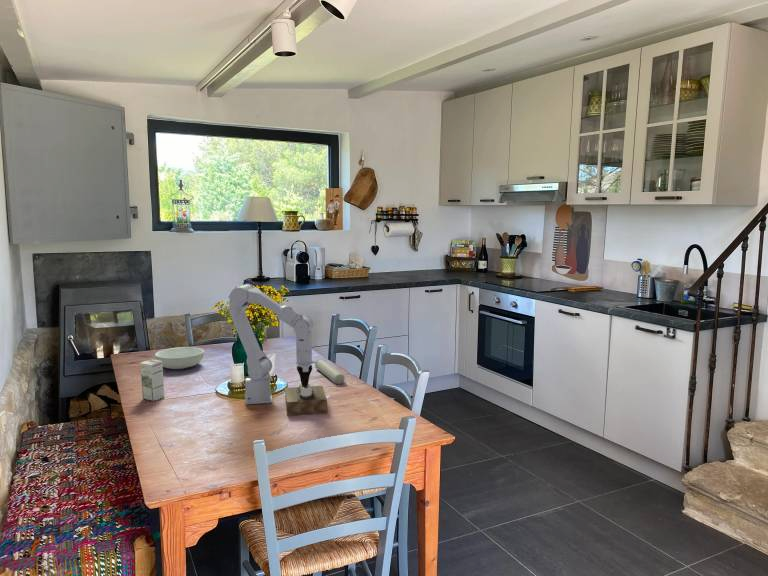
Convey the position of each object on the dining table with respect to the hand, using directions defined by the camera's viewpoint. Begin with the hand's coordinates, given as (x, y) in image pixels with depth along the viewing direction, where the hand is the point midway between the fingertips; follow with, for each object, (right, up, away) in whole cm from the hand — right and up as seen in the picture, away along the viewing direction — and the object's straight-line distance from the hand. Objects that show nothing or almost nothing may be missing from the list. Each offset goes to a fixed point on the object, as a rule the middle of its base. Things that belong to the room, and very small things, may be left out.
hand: (304, 385), depth 215 cm
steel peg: (+2, -4, -7) cm, 9 cm away
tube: (+6, -2, +34) cm, 34 cm away
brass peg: (0, -5, +1) cm, 5 cm away
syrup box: (-58, -6, +5) cm, 59 cm away
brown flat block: (+1, -7, -3) cm, 8 cm away
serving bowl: (-63, 0, +48) cm, 79 cm away
